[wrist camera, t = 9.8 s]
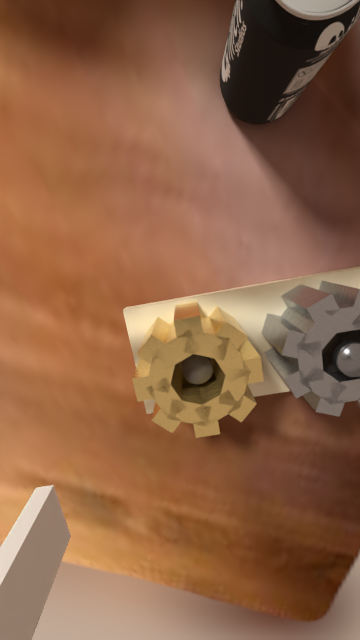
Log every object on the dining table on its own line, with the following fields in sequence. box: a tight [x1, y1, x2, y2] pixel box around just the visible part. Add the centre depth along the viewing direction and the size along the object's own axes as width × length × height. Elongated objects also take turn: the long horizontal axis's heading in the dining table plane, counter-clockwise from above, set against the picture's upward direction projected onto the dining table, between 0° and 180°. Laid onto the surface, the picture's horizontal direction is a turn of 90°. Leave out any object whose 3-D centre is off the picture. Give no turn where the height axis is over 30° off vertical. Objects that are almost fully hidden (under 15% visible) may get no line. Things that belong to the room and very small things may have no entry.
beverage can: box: [220, 0, 360, 124], centre depth 19 cm, size 7×7×12 cm
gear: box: [262, 280, 360, 417], centre depth 25 cm, size 10×10×7 cm
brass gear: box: [132, 302, 264, 438], centre depth 26 cm, size 10×10×6 cm
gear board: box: [123, 266, 360, 414], centre depth 27 cm, size 11×23×5 cm, turn 100°
